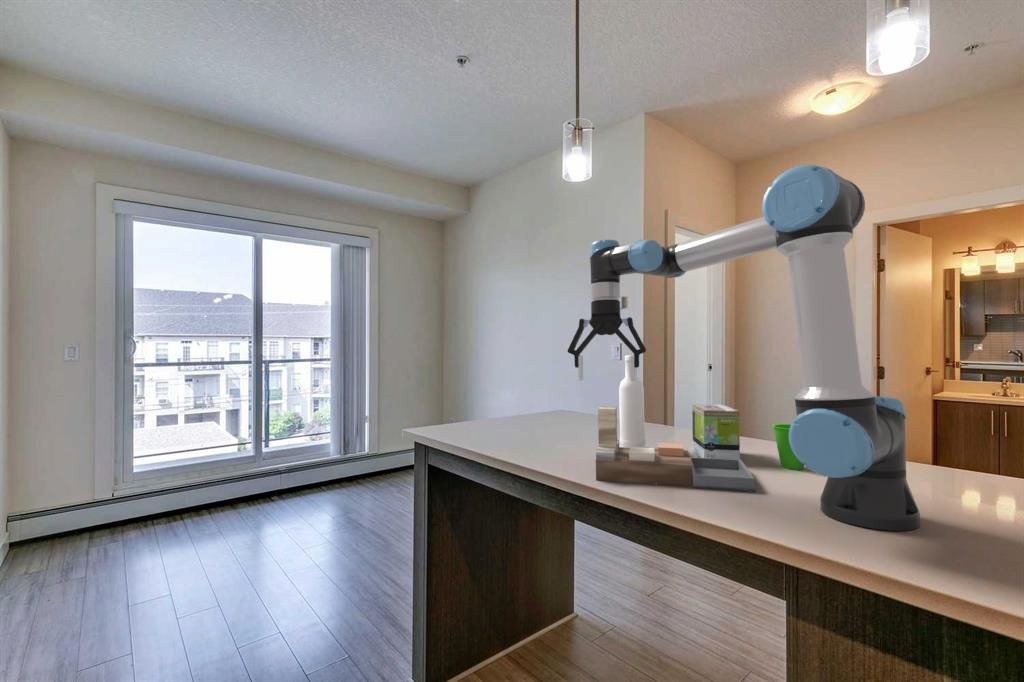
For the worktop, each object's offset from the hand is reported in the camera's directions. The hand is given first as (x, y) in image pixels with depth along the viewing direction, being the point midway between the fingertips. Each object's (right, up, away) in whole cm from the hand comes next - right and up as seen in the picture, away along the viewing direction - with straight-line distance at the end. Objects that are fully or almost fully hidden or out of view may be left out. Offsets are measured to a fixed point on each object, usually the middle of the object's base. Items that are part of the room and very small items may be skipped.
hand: (606, 380), depth 124 cm
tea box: (+35, -24, +15) cm, 45 cm away
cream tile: (+8, -19, -6) cm, 21 cm away
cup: (+50, -24, +1) cm, 55 cm away
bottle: (+14, -24, +27) cm, 39 cm away
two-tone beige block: (0, -19, 0) cm, 19 cm away
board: (+9, -24, -3) cm, 26 cm away
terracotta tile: (+16, -19, -2) cm, 25 cm away
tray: (+26, -24, -8) cm, 36 cm away
